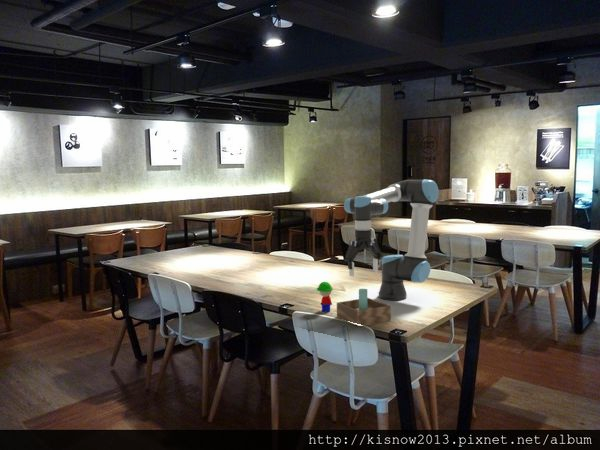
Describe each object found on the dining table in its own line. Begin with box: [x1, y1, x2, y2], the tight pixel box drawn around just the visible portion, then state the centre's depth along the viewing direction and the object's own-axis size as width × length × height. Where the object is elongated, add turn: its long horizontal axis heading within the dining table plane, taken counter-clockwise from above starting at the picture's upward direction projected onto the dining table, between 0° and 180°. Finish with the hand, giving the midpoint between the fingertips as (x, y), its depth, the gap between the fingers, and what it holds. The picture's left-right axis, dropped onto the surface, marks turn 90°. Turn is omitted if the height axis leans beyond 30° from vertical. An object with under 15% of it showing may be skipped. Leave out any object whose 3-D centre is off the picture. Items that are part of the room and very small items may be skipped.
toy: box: [316, 281, 334, 313], centre depth 245 cm, size 8×8×15 cm
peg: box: [358, 288, 368, 311], centre depth 232 cm, size 4×4×14 cm
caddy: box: [336, 297, 392, 327], centre depth 232 cm, size 18×18×7 cm
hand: (363, 274), depth 232 cm, fingers open, 13 cm apart
